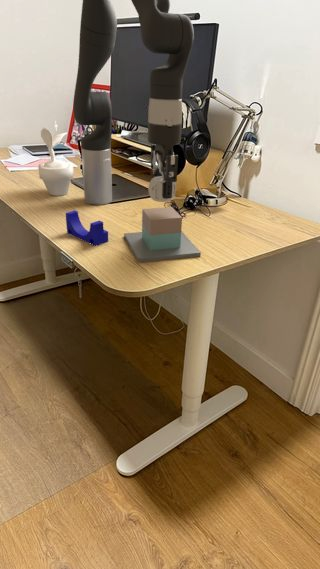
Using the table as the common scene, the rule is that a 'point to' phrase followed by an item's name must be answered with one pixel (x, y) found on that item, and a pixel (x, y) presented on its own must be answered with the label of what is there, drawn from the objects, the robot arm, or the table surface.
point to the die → (159, 189)
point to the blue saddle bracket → (76, 229)
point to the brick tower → (160, 237)
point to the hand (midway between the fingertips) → (162, 193)
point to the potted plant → (55, 166)
